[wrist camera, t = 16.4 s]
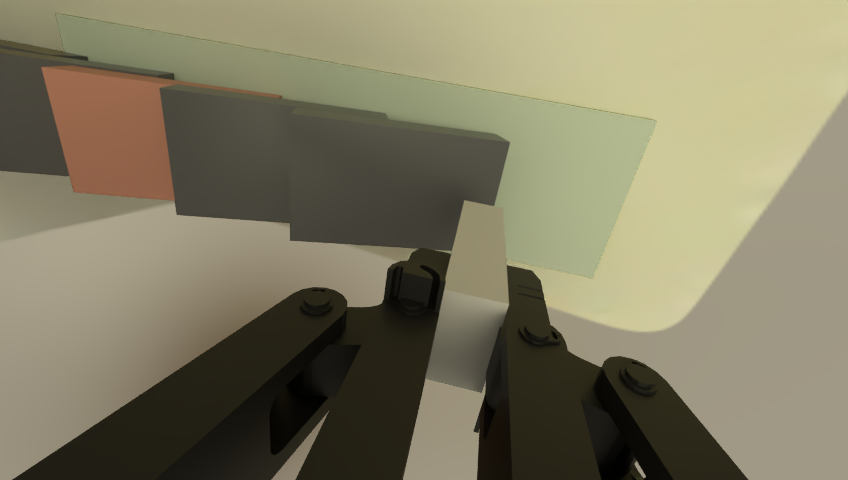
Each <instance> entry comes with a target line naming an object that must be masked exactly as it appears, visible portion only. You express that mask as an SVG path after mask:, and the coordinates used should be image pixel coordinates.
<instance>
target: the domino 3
mask: <svg viewBox="0 0 848 480" xmlns="http://www.w3.org/2000/svg"><path fill="white" fill-rule="evenodd" d="M509 145H510V142H509V141H507V140H505V139H504V138H502V137H500V136H499V135H497V134H492V133H485V132H478V131H470V130H463V129H455V128H448V127H441V126H433V125H426V124H419V123H411V122H404V121H397V120H389V119H382V118H374V117H367V116H360V115H352V114H345V113H338V112H330V111H323V110H316V109H308V108H301V107H296V108H295V109H294V110H293V111H292V112H291V113H290V241H306V242H322V243H338V244H354V245H370V246H386V247H402V248H418V249H420V248H426V249H434V250H450V251H452V249H453V245H454V241H455V237H456V233H457V229H458V224H459V220H460V216H461V212H462V208H463V204H464V200H466V201H471V202H476V203H480V204H485V205H490V206H494V205H495V201H496V197H497V193H498V189H499V185H500V181H501V177H502V173H503V169H504V165H505V161H506V157H507V153H508V149H509Z"/></svg>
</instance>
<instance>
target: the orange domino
mask: <svg viewBox="0 0 848 480" xmlns="http://www.w3.org/2000/svg"><path fill="white" fill-rule="evenodd" d="M41 68H42V72H43V76H44V80H45V84H46V87H47V91H48V95H49V99H50V103H51V106H52V110H53V114H54V118H55V122H56V126H57V129H58V133H59V137H60V141H61V145H62V149H63V152H64V156H65V160H66V164H67V168H68V172H69V175H70V179H71V183H72V187H73V191H74V192H78V193H90V194H102V195H114V196H126V197H138V198H150V199H162V200H174V201H175V198H174V191H173V184H172V176H171V169H170V162H169V155H168V147H167V140H166V133H165V126H164V118H163V111H162V104H161V97H160V89H159V88H161V87H166V86H171V85H176V84H181V85H189V86H196V87H203V88H210V89H217V90H224V91H231V92H238V93H245V94H253V95H260V96H267V97H274V98H281V99H282V95H276V94H269V93H262V92H255V91H248V90H240V89H233V88H226V87H219V86H212V85H205V84H198V83H191V82H184V81H177V80H170V79H163V78H156V77H149V76H142V75H135V74H128V73H121V72H114V71H107V70H100V69H93V68H86V67H79V66H51V67H41Z"/></svg>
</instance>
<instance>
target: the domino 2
mask: <svg viewBox="0 0 848 480" xmlns="http://www.w3.org/2000/svg"><path fill="white" fill-rule="evenodd" d="M159 89H160V97H161V104H162V111H163V118H164V126H165V133H166V140H167V147H168V155H169V162H170V169H171V176H172V184H173V191H174V198H175V205H176V212H177V215H186V216H200V217H213V218H227V219H241V220H256V221H268V222H282V223H290V113H291V112H292V111H293V110H294V109H295V108H296V107H301V108H308V109H316V110H323V111H330V112H338V113H345V114H352V115H360V116H367V117H374V118H382V119H388V118H387V116H386V114H385V113H381V112H373V111H366V110H359V109H352V108H345V107H338V106H331V105H324V104H317V103H309V102H302V101H295V100H288V99H281V98H274V97H267V96H260V95H253V94H245V93H238V92H231V91H224V90H217V89H210V88H203V87H196V86H189V85H181V84H176V85H171V86H166V87H161V88H159Z"/></svg>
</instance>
